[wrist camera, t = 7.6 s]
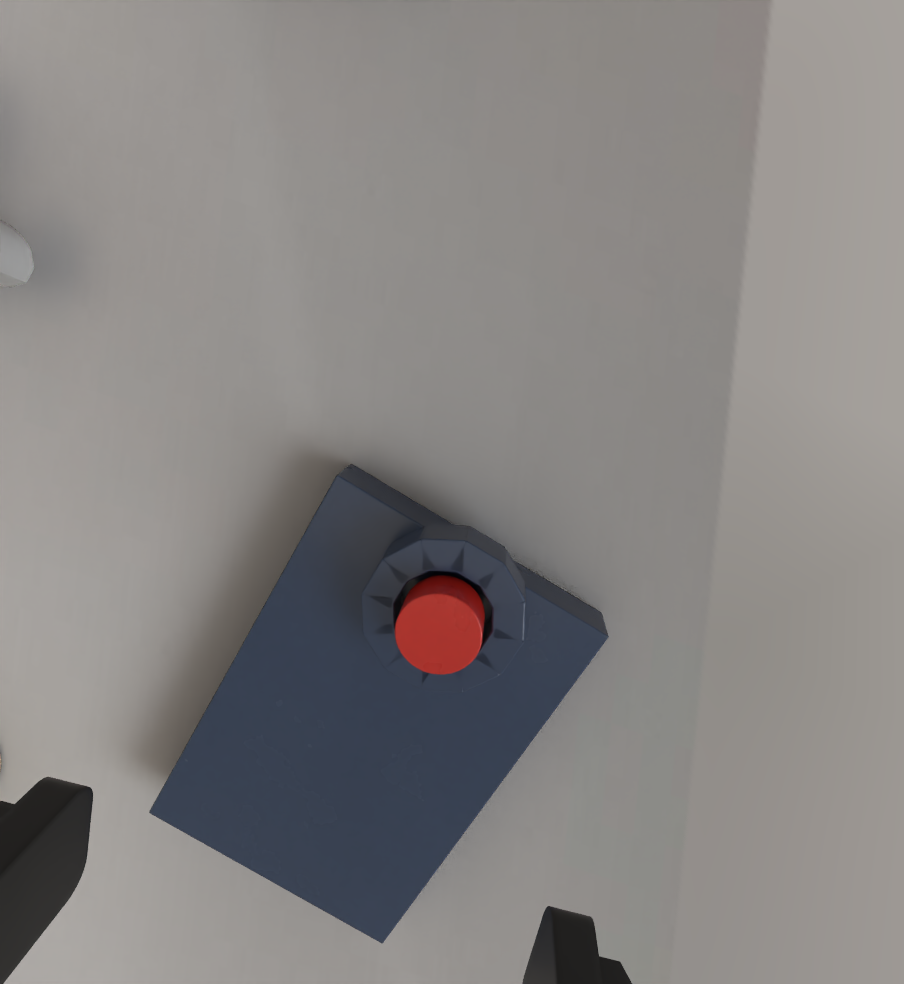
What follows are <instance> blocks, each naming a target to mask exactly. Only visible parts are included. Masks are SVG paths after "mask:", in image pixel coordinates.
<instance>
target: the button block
mask: <svg viewBox="0 0 904 984" xmlns="http://www.w3.org/2000/svg"><path fill="white" fill-rule="evenodd" d="M438 575H445V576H452V577H455V578H458V579H461V580H463V581H464V582H466V583H467V584H469V585H470V586H471V587H472V588H473V589H474V590H475V591H476V592H477V593H478V595H479V596H480V598H481V600H482V603H483V606H484V611H485V620H484V629H483V638H482V644H481V648H480V650H479V653H478V654H477V656H476V657H475V659H474V660H473V661H472V662H471V663H470V664H469V665H468V666H466V667H465V668H463V669H461V670H459V671H457V672H454V673H450V674H431V673H427V672H424V671H422V670H420V669H418V668H416V667H414V666H413V665H412V664H410V663H409V662H408V661H407V660H406V659H405V658H404V656H403V655H402V654H401V652H400V650H399V648H398V646H397V643H396V639H395V624H396V620H397V618H398V615H399V613H400V610H401V608H402V605H403V603H404V600H405V598H406V596H407V594H408V593H409V591H410V590H411V589H412V588H413V587H414V586H415V585H416V584H417V583H418V582H420V581H422V580H424V579H426V578H428V577H432V576H438ZM607 638H608V633H607V630H606V626H605V623H604V619H603V616H602V613H601V612H599V611H597V610H596V609H594V608H592V607H591V606H589V605H587V604H586V603H584V602H582V601H581V600H579V599H577V598H576V597H574V596H572V595H571V594H569V593H567V592H566V591H564V590H562V589H561V588H559V587H557V586H556V585H554V584H552V583H550V582H549V581H547V580H545V579H544V578H542V577H540V576H539V575H537V574H535V573H534V572H532V571H530V570H529V569H527V568H525V567H524V566H522V565H520V564H519V563H517V562H515V561H514V560H512V558H511V557H510V555H509V553H508V551H507V550H506V549H505V547H504V546H502V545H501V544H499V543H497V542H496V541H494V540H492V539H491V538H489V537H487V536H485V535H484V534H482V533H480V532H479V531H477V530H475V529H474V528H472V527H470V526H457V525H453V524H452V523H450V522H448V521H446V520H445V519H443V518H441V517H440V516H438V515H436V514H435V513H433V512H431V511H430V510H428V509H426V508H425V507H423V506H421V505H420V504H418V503H416V502H415V501H413V500H411V499H410V498H408V497H406V496H405V495H403V494H401V493H400V492H398V491H396V490H395V489H393V488H391V487H389V486H388V485H386V484H384V483H383V482H381V481H379V480H378V479H376V478H374V477H373V476H371V475H369V474H368V473H366V472H364V471H363V470H361V469H359V468H358V467H356V466H354V465H353V464H350V465H349V466H347V467H346V468H345V469H344V470H343V471H341V472H340V473H339V474H338V475H337V476H336V477H335V479H334V481H333V483H332V484H331V486H330V488H329V490H328V491H327V493H326V495H325V497H324V499H323V500H322V502H321V504H320V506H319V508H318V509H317V511H316V513H315V515H314V517H313V518H312V520H311V522H310V524H309V526H308V527H307V529H306V531H305V533H304V535H303V536H302V538H301V540H300V542H299V544H298V545H297V547H296V549H295V551H294V553H293V554H292V556H291V558H290V560H289V562H288V563H287V565H286V567H285V569H284V571H283V572H282V574H281V576H280V578H279V580H278V581H277V583H276V585H275V587H274V589H273V590H272V592H271V594H270V596H269V598H268V599H267V601H266V603H265V605H264V606H263V608H262V610H261V612H260V614H259V615H258V617H257V619H256V621H255V623H254V624H253V626H252V628H251V630H250V632H249V633H248V635H247V637H246V639H245V641H244V642H243V644H242V646H241V648H240V650H239V651H238V653H237V655H236V657H235V659H234V660H233V662H232V664H231V666H230V668H229V669H228V671H227V673H226V675H225V677H224V678H223V680H222V682H221V684H220V686H219V687H218V689H217V691H216V693H215V695H214V696H213V698H212V700H211V702H210V704H209V705H208V707H207V709H206V711H205V712H204V714H203V716H202V718H201V720H200V721H199V723H198V725H197V727H196V729H195V730H194V732H193V734H192V736H191V738H190V739H189V741H188V743H187V745H186V747H185V748H184V750H183V752H182V754H181V756H180V757H179V759H178V761H177V763H176V765H175V766H174V768H173V770H172V772H171V774H170V775H169V777H168V779H167V781H166V783H165V784H164V786H163V788H162V790H161V792H160V793H159V795H158V797H157V799H156V801H155V802H154V804H153V806H152V808H151V810H150V812H149V813H150V814H152V815H154V816H156V817H158V818H159V819H161V820H163V821H165V822H167V823H168V824H170V825H172V826H174V827H175V828H177V829H179V830H181V831H183V832H184V833H186V834H188V835H190V836H191V837H193V838H195V839H197V840H199V841H200V842H202V843H204V844H206V845H208V846H209V847H211V848H213V849H215V850H216V851H218V852H220V853H222V854H224V855H225V856H227V857H229V858H231V859H232V860H234V861H236V862H238V863H240V864H241V865H243V866H245V867H247V868H249V869H250V870H252V871H254V872H256V873H257V874H259V875H261V876H263V877H265V878H266V879H268V880H270V881H272V882H273V883H275V884H277V885H279V886H281V887H282V888H284V889H286V890H288V891H290V892H291V893H293V894H295V895H297V896H298V897H300V898H302V899H304V900H306V901H307V902H309V903H311V904H313V905H314V906H316V907H318V908H320V909H322V910H323V911H325V912H327V913H329V914H330V915H332V916H334V917H336V918H338V919H339V920H341V921H343V922H345V923H347V924H348V925H350V926H352V927H354V928H355V929H357V930H359V931H361V932H363V933H364V934H366V935H368V936H370V937H371V938H373V939H375V940H377V941H379V942H380V943H383V942H384V941H385V939H386V938H387V937H388V935H389V934H390V933H391V931H392V930H393V929H394V927H395V926H396V925H397V923H398V922H399V920H400V919H401V918H402V916H403V915H404V914H405V912H406V911H407V910H408V908H409V907H410V906H411V904H412V903H413V902H414V900H415V899H416V897H417V896H418V895H419V893H420V892H421V891H422V889H423V888H424V887H425V885H426V884H427V883H428V881H429V880H430V878H431V877H432V876H433V874H434V873H435V872H436V870H437V869H438V868H439V866H440V865H441V864H442V862H443V861H444V859H445V858H446V857H447V855H448V854H449V853H450V851H451V850H452V849H453V847H454V846H455V845H456V843H457V842H458V840H459V839H460V838H461V836H462V835H463V834H464V832H465V831H466V830H467V828H468V827H469V826H470V824H471V823H472V821H473V820H474V819H475V817H476V816H477V815H478V813H479V812H480V811H481V809H482V808H483V807H484V805H485V804H486V802H487V801H488V800H489V798H490V797H491V796H492V794H493V793H494V792H495V790H496V789H497V788H498V786H499V785H500V783H501V782H502V781H503V779H504V778H505V777H506V775H507V774H508V773H509V771H510V770H511V769H512V767H513V766H514V765H515V763H516V762H517V760H518V759H519V758H520V756H521V755H522V754H523V752H524V751H525V750H526V748H527V747H528V746H529V744H530V743H531V741H532V740H533V739H534V737H535V736H536V735H537V733H538V732H539V731H540V729H541V728H542V727H543V725H544V724H545V722H546V721H547V720H548V718H549V717H550V716H551V714H552V713H553V712H554V710H555V709H556V708H557V706H558V705H559V703H560V702H561V701H562V699H563V698H564V697H565V695H566V694H567V693H568V691H569V690H570V689H571V687H572V686H573V684H574V683H575V682H576V680H577V679H578V678H579V676H580V675H581V674H582V672H583V671H584V670H585V668H586V667H587V665H588V664H589V663H590V661H591V660H592V659H593V657H594V656H595V655H596V653H597V652H598V651H599V649H600V648H601V646H602V645H603V644H604V642H605V641H606V640H607Z"/></svg>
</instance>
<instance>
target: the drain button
mask: <svg viewBox="0 0 904 984" xmlns="http://www.w3.org/2000/svg"><path fill="white" fill-rule="evenodd" d="M484 620H485V611H484V606H483V603H482V600H481V598H480V596H479V595H478V593H477V592H476V591H475V590H474V589H473V588H472V587H471V586H470V585H469V584H467V583H466V582H464V581H463V580H461V579H458V578H455V577H452V576H445V575H438V576H432V577H428V578H426V579H424V580H422V581H420V582H418V583H417V584H416V585H415V586H414V587H413V588H412V589H411V590H410V591H409V593H408V594H407V596H406V598H405V600H404V603H403V605H402V608H401V610H400V613H399V615H398V618H397V620H396V624H395V639H396V643H397V646H398V648H399V650H400V652H401V654H402V655H403V656H404V658H405V659H406V660H407V661H408V662H409V663H410V664H412V665H413V666H414V667H416V668H418V669H420V670H422V671H424V672H427V673H431V674H450V673H454V672H457V671H459V670H461V669H463V668H465V667H466V666H468V665H469V664H470V663H471V662H472V661H473V660H474V659H475V657H476V656H477V654H478V653H479V650H480V648H481V644H482V638H483V629H484Z"/></svg>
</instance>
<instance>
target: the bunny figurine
mask: <svg viewBox="0 0 904 984" xmlns="http://www.w3.org/2000/svg"><path fill="white" fill-rule="evenodd" d="M33 270H34V264H33V258H32V251H31V248H30V247H29V245H28V244H27V242H26V240H25V239H24V237H23V236H21V235H20V234H19V233H18V232H17V231H16V230H15V229H14V228H13V227H12V226H10V225H8V224H7V223H5V222H3V221H2V220H0V286H4V287H14V286H17V285H21V284H25V283H27V281H28V279H29V277H30V275H31V274H32V272H33Z"/></svg>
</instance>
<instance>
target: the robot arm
mask: <svg viewBox="0 0 904 984" xmlns="http://www.w3.org/2000/svg"><path fill="white" fill-rule="evenodd" d="M92 802H93V791H92V789H91V788H90V787H87V786H83V785H79V784H75V783H71V782H67V781H63V780H59V779H55V778H51V777H46V778H43V779H42V780H40V781H39V782H38V783H37V784H36V785H35V786H33V787H32V788H31V789H30V790H29V791H28V792H27V793H26V794H25V795H24V796H23V797H22V798H21V799H20V800H19V801H18V802H17V803H16V804H11V803H7V802H3V801H0V984H3V983H4V982H5V981H6V979H7V978H8V977H9V975H10V974H11V973H12V972H13V970H14V969H15V968H16V966H17V965H18V964H19V963H20V961H21V960H22V959H23V957H24V956H25V955H26V954H27V952H28V951H29V950H30V948H31V947H32V946H33V945H34V943H35V942H36V941H37V940H38V938H39V937H40V936H41V934H42V933H43V932H44V931H45V929H46V928H47V927H48V925H49V924H50V923H51V922H52V920H53V919H54V918H55V916H56V915H57V914H58V913H59V911H60V910H61V909H62V907H63V906H64V905H65V904H66V902H67V901H68V900H69V898H70V897H71V895H72V894H73V892H74V890H75V888H76V887H77V885H78V883H79V880H80V878H81V876H82V873H83V871H84V867H85V864H86V859H87V851H88V841H89V832H90V822H91V812H92ZM523 984H632V983H631V981H630V979H629V977H628V975H627V974H626V972H625V970H624V968H623V966H622V964H621V963H620V962H619V961H615V960H611V959H607V958H603V957H599V954H598V947H597V940H596V933H595V926H594V922H593V919H592V918H591V917H590V916H586V915H582V914H578V913H574V912H570V911H566V910H562V909H558V908H554V907H550V906H548V907H547V908H546V909H545V912H544V914H543V917H542V921H541V924H540V927H539V930H538V933H537V936H536V940H535V943H534V946H533V949H532V952H531V955H530V959H529V962H528V965H527V968H526V971H525V975H524V979H523Z"/></svg>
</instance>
